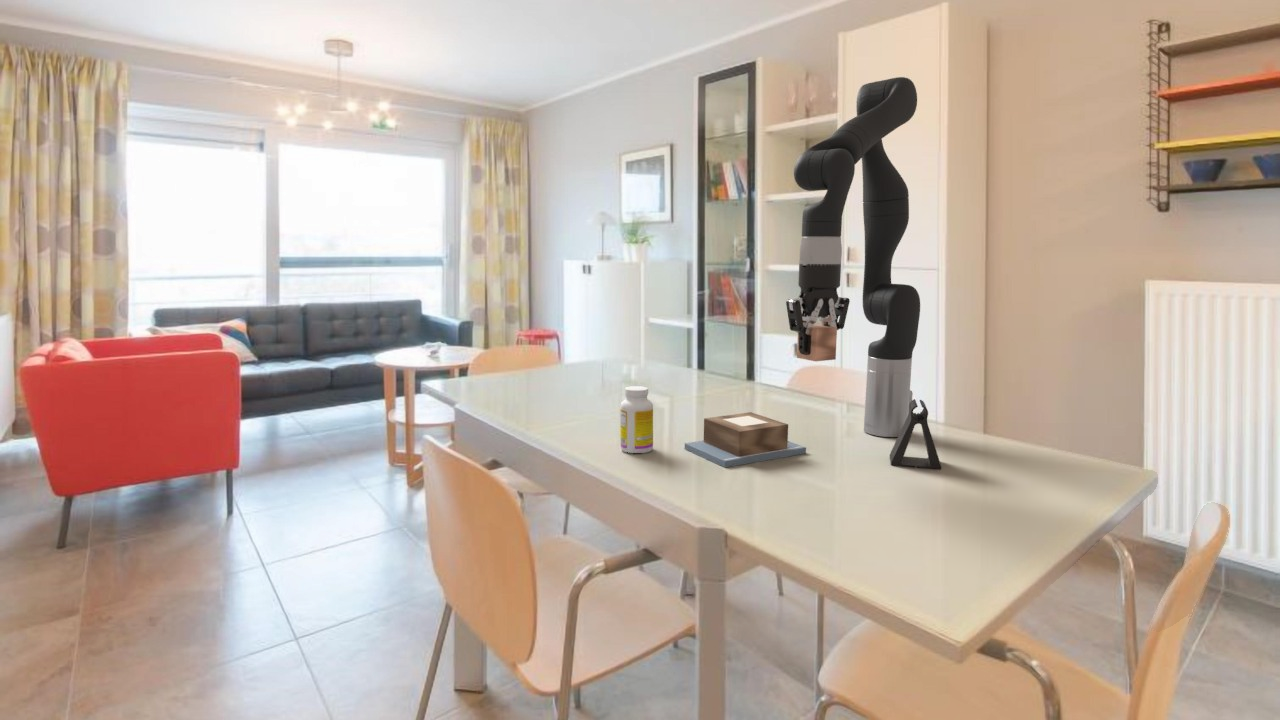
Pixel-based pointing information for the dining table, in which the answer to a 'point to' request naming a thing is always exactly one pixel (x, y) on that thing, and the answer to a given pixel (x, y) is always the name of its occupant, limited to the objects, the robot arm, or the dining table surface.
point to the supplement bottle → (636, 421)
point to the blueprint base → (743, 440)
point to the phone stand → (904, 437)
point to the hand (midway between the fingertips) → (816, 352)
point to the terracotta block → (821, 344)
